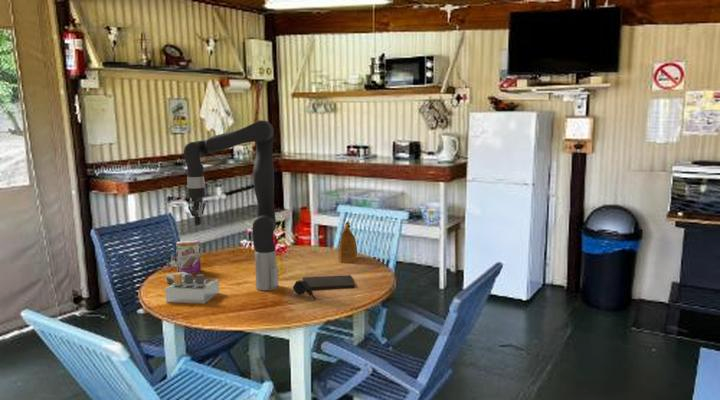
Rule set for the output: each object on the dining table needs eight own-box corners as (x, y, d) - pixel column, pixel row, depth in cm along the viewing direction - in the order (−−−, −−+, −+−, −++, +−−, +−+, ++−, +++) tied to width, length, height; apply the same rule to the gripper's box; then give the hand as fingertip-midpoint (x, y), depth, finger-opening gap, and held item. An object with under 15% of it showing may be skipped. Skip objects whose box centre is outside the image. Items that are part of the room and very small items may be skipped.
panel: (219, 292, 240) (218, 279, 240) (204, 303, 226) (203, 289, 225) (182, 291, 243) (182, 278, 242) (166, 302, 228) (165, 287, 227)
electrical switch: (174, 279, 249) (164, 271, 255) (173, 289, 250) (164, 281, 256) (192, 275, 255) (183, 268, 261) (192, 285, 257) (182, 277, 263)
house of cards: (158, 267, 286) (157, 253, 285) (175, 265, 290) (175, 251, 289) (161, 271, 278) (160, 256, 277) (178, 269, 282) (178, 254, 281)
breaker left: (206, 283, 231) (205, 273, 231) (201, 286, 228) (201, 276, 227) (198, 283, 232) (198, 273, 231) (194, 286, 228) (194, 276, 227)
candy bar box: (177, 276, 268) (176, 243, 265) (177, 273, 272) (175, 241, 270) (201, 273, 272) (199, 241, 269) (200, 271, 276) (198, 239, 274)
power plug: (311, 299, 226) (295, 278, 231) (303, 311, 230) (288, 290, 235) (320, 296, 231) (304, 275, 236) (313, 307, 235) (297, 287, 240)
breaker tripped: (183, 283, 233) (183, 273, 232) (179, 285, 229) (178, 275, 228) (176, 282, 233) (176, 272, 233) (172, 285, 229) (171, 275, 229)
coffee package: (357, 260, 295) (356, 220, 292) (357, 266, 283) (356, 224, 280) (338, 260, 295) (338, 220, 292) (338, 266, 283) (337, 225, 280)
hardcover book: (302, 282, 258) (302, 277, 257) (350, 279, 260) (350, 275, 260) (303, 292, 242) (303, 287, 242) (354, 289, 245) (354, 284, 244)
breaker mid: (194, 283, 232) (194, 273, 232) (190, 286, 228) (190, 275, 228) (187, 283, 233) (187, 273, 232) (183, 285, 229) (183, 275, 228)
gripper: (197, 188, 236) (199, 227, 238) (210, 185, 249) (212, 222, 251) (181, 188, 237) (183, 227, 239) (194, 185, 250) (196, 222, 252)
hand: (198, 224), depth 245 cm, fingers closed
